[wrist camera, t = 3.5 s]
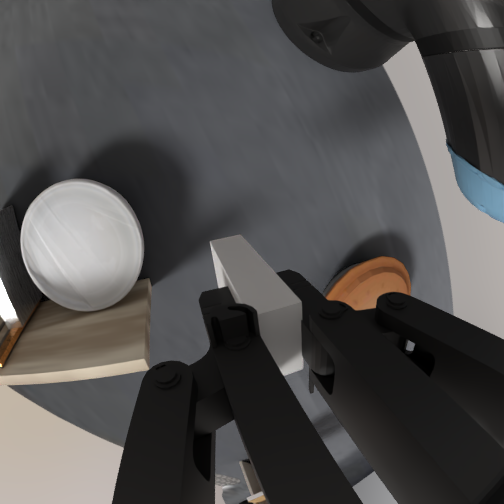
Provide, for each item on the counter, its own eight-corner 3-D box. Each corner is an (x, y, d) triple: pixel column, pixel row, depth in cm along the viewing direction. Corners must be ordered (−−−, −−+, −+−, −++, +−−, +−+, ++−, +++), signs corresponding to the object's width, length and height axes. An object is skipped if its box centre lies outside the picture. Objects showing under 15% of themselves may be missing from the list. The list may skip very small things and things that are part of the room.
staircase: (298, 439, 46) (353, 537, 24) (252, 464, 46) (295, 561, 23) (278, 430, 43) (338, 543, 20) (229, 457, 43) (272, 567, 20)
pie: (320, 240, 31) (345, 256, 26) (407, 252, 36) (431, 265, 32) (287, 352, 35) (302, 377, 31) (372, 342, 41) (390, 360, 36)
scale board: (-26, 315, 21) (-67, 374, 10) (148, 276, 26) (143, 356, 16) (-22, 323, 21) (-61, 382, 10) (151, 286, 27) (149, 369, 16)
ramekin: (30, 257, 22) (9, 279, 17) (66, 153, 20) (44, 155, 16) (121, 302, 27) (115, 331, 22) (167, 205, 25) (167, 218, 20)
